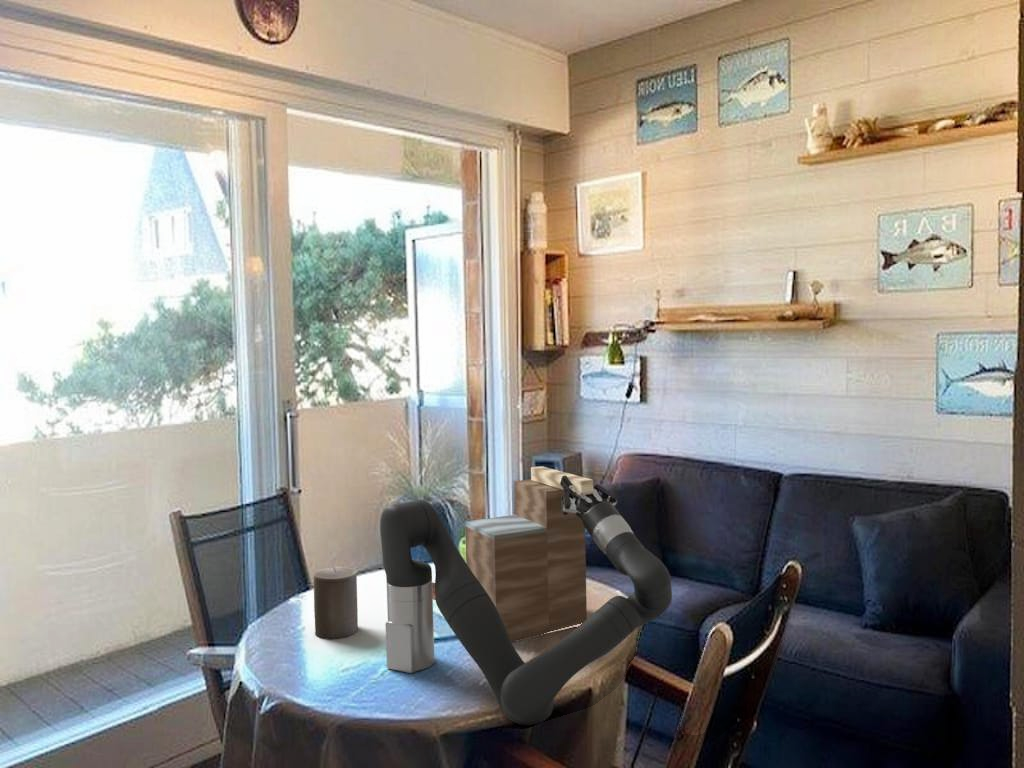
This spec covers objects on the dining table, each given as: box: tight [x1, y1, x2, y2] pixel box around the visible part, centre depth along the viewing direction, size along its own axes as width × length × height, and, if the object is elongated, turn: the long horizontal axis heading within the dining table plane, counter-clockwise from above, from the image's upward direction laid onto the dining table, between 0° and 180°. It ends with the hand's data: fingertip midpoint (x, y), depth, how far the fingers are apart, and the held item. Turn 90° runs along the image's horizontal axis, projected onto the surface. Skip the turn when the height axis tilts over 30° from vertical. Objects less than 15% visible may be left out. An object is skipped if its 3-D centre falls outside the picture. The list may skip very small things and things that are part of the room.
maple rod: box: [530, 466, 594, 495], centre depth 182 cm, size 22×3×3 cm, turn 28°
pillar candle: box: [313, 566, 359, 640], centre depth 184 cm, size 10×10×15 cm
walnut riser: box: [464, 478, 588, 643], centre depth 185 cm, size 15×23×32 cm, turn 118°
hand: (570, 478), depth 178 cm, fingers closed on maple rod, 3 cm apart
